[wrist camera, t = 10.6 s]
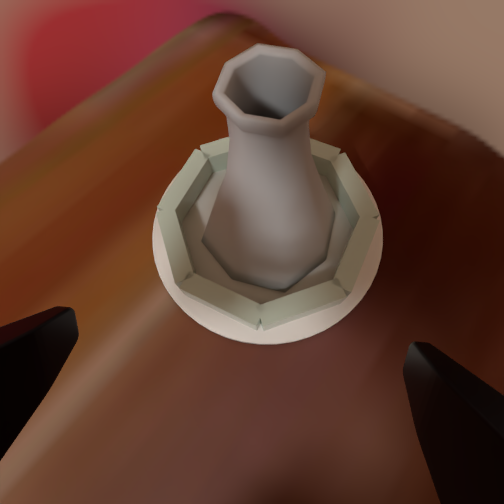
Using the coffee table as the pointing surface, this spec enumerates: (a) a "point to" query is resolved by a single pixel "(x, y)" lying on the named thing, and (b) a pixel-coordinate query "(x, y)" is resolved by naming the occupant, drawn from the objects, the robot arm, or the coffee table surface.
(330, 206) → the flask
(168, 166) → the coffee table surface
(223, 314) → the shaker seat
